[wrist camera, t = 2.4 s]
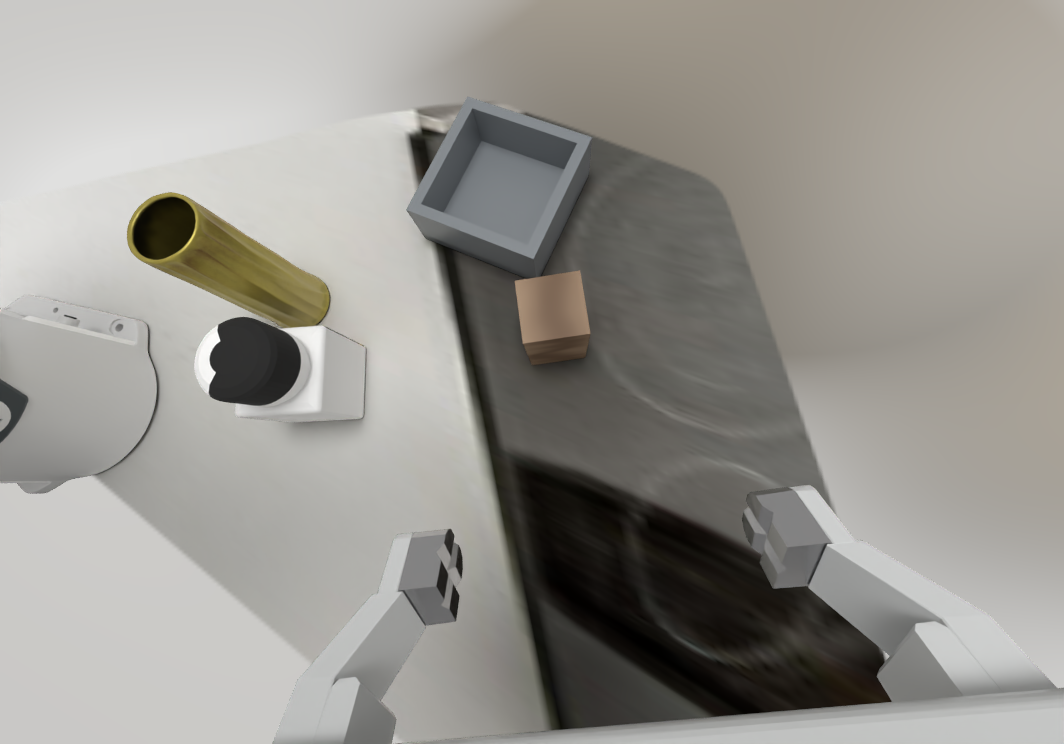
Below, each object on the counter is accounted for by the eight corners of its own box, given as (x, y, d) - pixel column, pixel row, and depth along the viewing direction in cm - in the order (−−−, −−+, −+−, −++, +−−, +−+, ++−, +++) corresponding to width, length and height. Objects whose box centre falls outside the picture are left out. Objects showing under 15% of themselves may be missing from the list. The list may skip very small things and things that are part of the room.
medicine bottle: (367, 346, 39) (281, 302, 27) (364, 419, 37) (272, 406, 26) (298, 350, 39) (184, 309, 28) (293, 422, 38) (170, 412, 26)
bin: (425, 238, 40) (406, 209, 36) (479, 137, 42) (467, 96, 37) (537, 282, 38) (533, 259, 34) (588, 175, 40) (592, 137, 35)
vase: (289, 267, 41) (147, 175, 27) (340, 285, 40) (220, 199, 26) (263, 321, 40) (102, 254, 26) (315, 340, 39) (176, 281, 25)
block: (532, 365, 37) (522, 343, 29) (525, 314, 38) (514, 280, 30) (585, 357, 37) (590, 333, 29) (577, 307, 38) (580, 270, 30)
